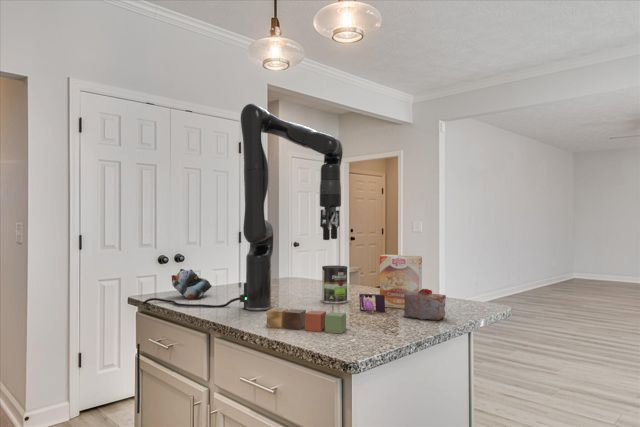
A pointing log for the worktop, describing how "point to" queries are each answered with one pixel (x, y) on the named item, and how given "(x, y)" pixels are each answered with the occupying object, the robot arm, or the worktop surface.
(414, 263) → the coffeecake box
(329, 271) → the coffee can
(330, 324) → the sage block
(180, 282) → the blue-grey lumpy piece
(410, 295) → the food item
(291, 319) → the walnut block
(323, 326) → the terracotta red block
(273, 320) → the maple block
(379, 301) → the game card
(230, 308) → the worktop surface
